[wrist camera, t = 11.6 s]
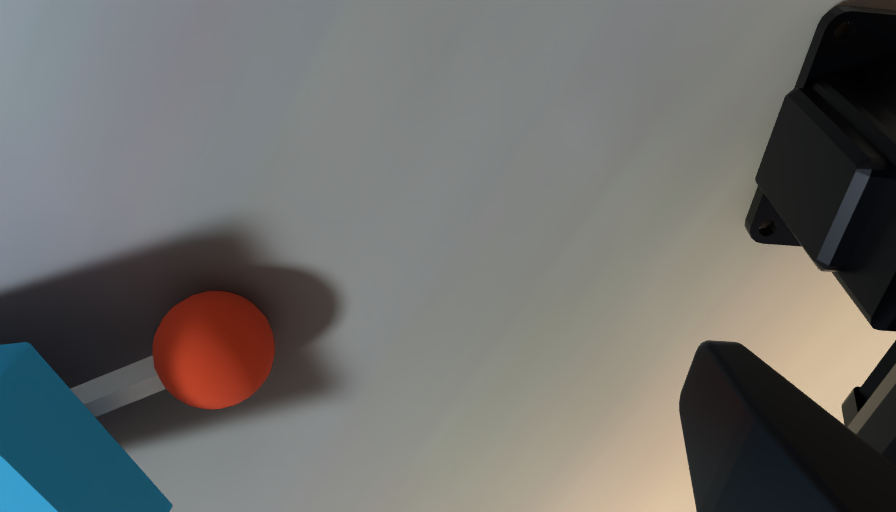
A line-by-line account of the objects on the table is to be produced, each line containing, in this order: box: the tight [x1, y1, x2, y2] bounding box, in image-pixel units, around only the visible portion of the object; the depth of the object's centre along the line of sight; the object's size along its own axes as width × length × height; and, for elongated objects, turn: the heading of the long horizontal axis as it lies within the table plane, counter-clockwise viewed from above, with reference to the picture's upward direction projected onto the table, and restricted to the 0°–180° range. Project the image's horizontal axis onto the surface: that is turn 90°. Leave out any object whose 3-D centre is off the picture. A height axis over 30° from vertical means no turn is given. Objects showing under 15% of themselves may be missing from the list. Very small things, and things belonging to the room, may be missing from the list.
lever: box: [0, 291, 275, 512], centre depth 24 cm, size 7×7×18 cm
